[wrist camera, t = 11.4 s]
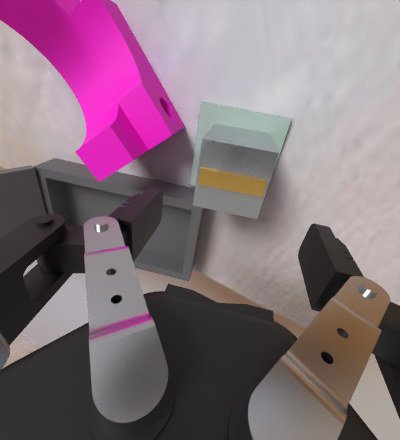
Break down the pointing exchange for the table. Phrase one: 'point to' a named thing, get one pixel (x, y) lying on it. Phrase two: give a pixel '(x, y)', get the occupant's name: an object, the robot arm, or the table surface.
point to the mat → (237, 119)
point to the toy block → (99, 76)
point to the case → (103, 208)
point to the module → (234, 170)
